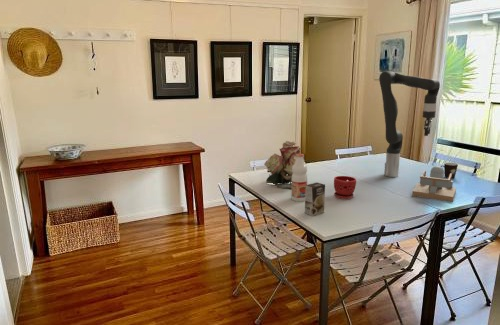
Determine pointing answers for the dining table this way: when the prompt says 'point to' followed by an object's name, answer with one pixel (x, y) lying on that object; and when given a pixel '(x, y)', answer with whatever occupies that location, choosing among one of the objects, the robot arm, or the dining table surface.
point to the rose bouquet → (282, 165)
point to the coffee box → (314, 199)
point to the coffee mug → (450, 169)
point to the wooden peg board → (435, 188)
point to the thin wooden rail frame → (434, 181)
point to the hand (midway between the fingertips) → (427, 134)
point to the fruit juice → (299, 179)
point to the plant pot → (344, 187)
